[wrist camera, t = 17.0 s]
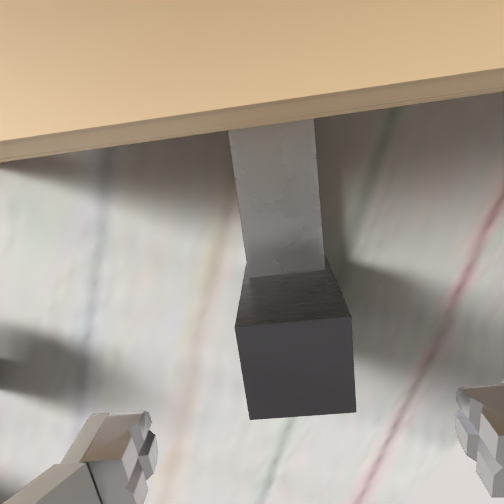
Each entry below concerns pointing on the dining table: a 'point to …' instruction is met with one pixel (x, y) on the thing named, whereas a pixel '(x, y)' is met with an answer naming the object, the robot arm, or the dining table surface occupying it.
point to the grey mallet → (288, 280)
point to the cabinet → (228, 65)
